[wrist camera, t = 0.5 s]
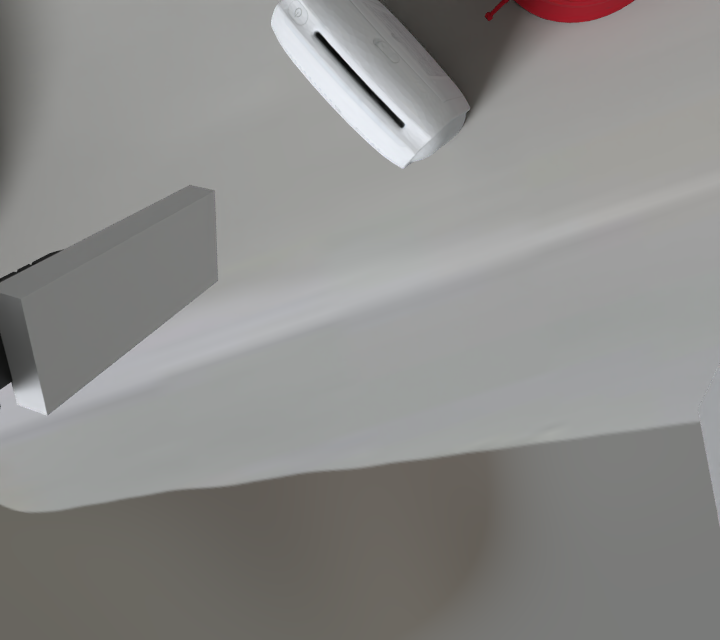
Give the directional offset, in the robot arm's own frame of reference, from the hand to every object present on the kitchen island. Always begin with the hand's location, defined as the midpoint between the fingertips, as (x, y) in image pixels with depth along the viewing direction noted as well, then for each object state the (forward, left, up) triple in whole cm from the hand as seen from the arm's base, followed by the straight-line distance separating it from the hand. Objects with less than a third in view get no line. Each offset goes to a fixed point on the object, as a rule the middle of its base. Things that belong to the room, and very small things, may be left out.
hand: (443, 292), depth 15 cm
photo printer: (-5, -6, -26) cm, 27 cm away
